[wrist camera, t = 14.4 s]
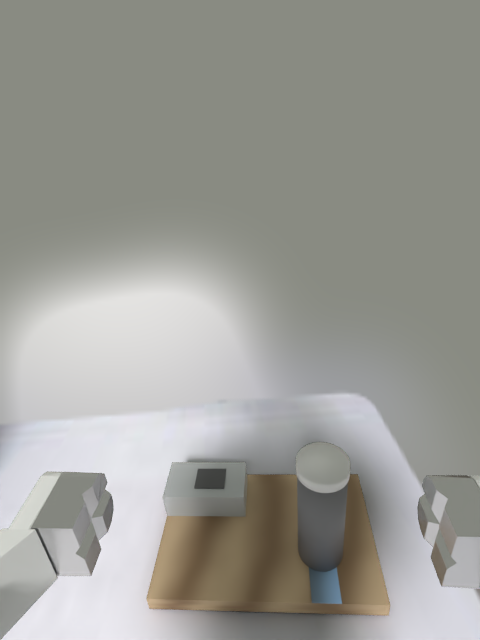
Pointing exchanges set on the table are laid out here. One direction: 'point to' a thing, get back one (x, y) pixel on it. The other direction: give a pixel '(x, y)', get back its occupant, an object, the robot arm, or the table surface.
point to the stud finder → (206, 489)
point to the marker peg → (321, 504)
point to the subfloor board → (266, 559)
